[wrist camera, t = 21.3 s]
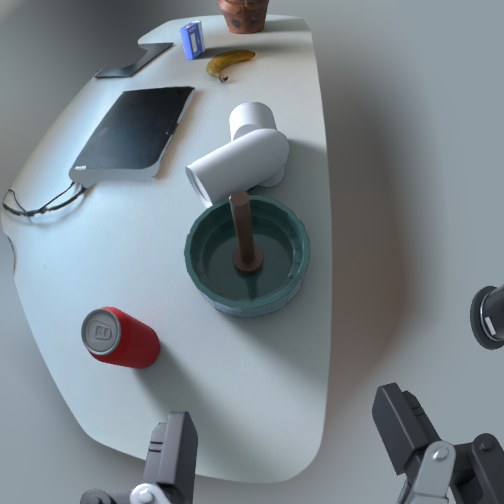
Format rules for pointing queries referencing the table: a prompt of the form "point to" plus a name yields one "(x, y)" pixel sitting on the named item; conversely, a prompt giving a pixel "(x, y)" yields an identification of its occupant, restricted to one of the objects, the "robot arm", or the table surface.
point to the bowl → (274, 256)
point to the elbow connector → (242, 156)
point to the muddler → (244, 236)
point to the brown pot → (244, 14)
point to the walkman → (192, 39)
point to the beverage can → (119, 338)
